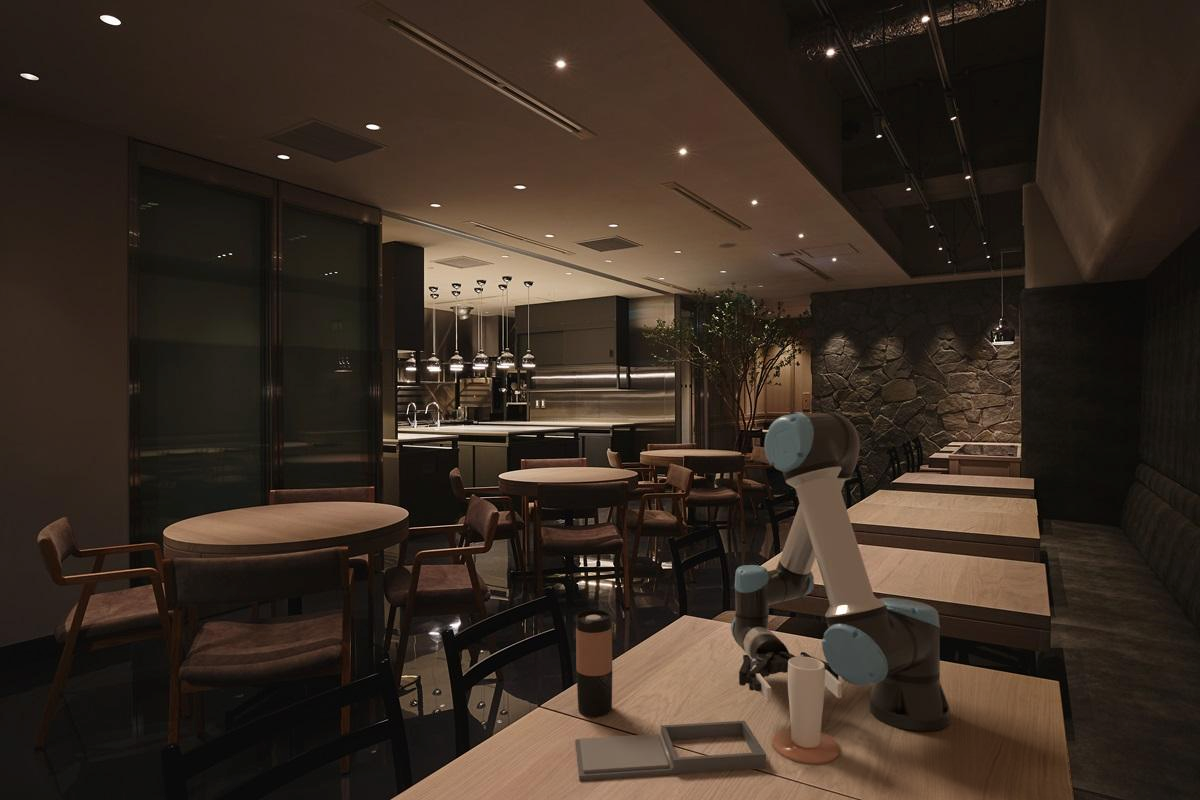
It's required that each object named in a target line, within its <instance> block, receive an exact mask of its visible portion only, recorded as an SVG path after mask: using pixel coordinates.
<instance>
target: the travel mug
mask: <svg viewBox="0 0 1200 800" xmlns="http://www.w3.org/2000/svg"><path fill="white" fill-rule="evenodd" d="M575 625H576V626H575V638H576V639H575V641H576V642H575V650H576V651H575V652H576V653H575V655H576V656H575V657H576V659H575V660H576V663H575V664H576V665H575V666H576V687H577V688H576V689H577V691H576V692H577V709H578V712H579V713H580V715H582V714H583V716H584V715H585V716H584V717H588V716H589V717H588V718H598V716H601V717H604V716H603V715H605V716H607V715H608V713H609V712H610V711H611V712H612V708H613V639H612V638H613V637H612V636H613V635H612V630H613V629H612V615H611V613H610V612H608V611H606V610H599V609H590V610H589V609H588V610H584V611H580V612H578V613H577V614H576V617H575ZM611 712H610V713H611ZM610 713H609V714H610ZM606 714H607V715H606Z"/></svg>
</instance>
